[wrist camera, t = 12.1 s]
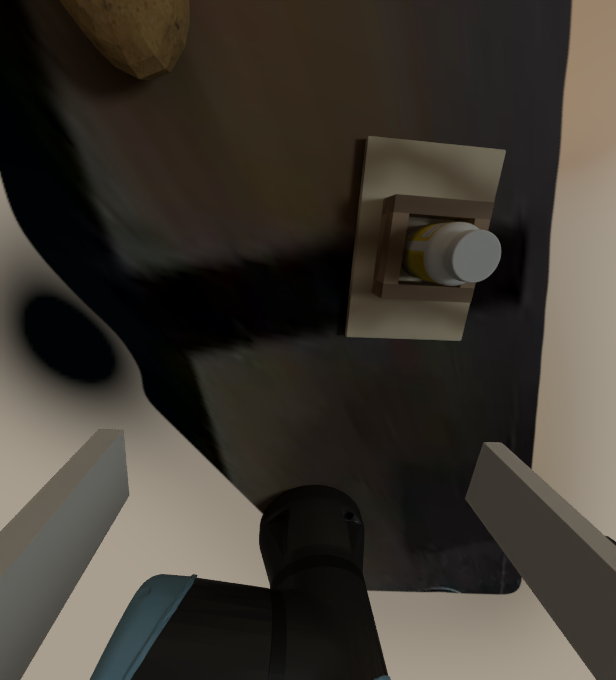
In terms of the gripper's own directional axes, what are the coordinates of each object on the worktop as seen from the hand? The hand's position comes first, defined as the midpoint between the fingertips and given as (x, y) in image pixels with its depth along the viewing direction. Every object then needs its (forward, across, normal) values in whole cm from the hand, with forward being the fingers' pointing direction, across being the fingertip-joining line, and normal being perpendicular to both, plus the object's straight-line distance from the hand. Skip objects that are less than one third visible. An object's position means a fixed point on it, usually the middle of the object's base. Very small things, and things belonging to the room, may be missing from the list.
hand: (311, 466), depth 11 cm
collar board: (+25, -13, -8) cm, 29 cm away
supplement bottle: (+24, -13, -8) cm, 29 cm away
